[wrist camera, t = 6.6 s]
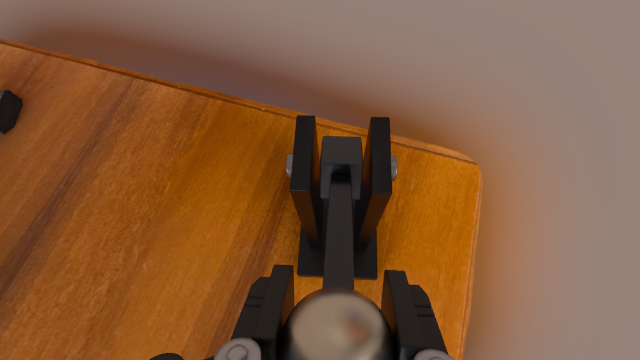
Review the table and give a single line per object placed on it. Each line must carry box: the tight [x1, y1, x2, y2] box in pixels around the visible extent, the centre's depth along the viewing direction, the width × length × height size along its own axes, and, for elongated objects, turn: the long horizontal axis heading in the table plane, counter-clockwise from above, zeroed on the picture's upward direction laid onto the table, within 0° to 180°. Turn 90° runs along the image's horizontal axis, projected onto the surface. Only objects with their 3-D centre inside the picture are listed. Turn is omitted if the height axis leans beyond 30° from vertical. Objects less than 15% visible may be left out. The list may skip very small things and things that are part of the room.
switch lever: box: [279, 136, 395, 360], centre depth 14 cm, size 13×4×4 cm
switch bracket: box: [286, 115, 397, 280], centre depth 24 cm, size 9×7×16 cm
